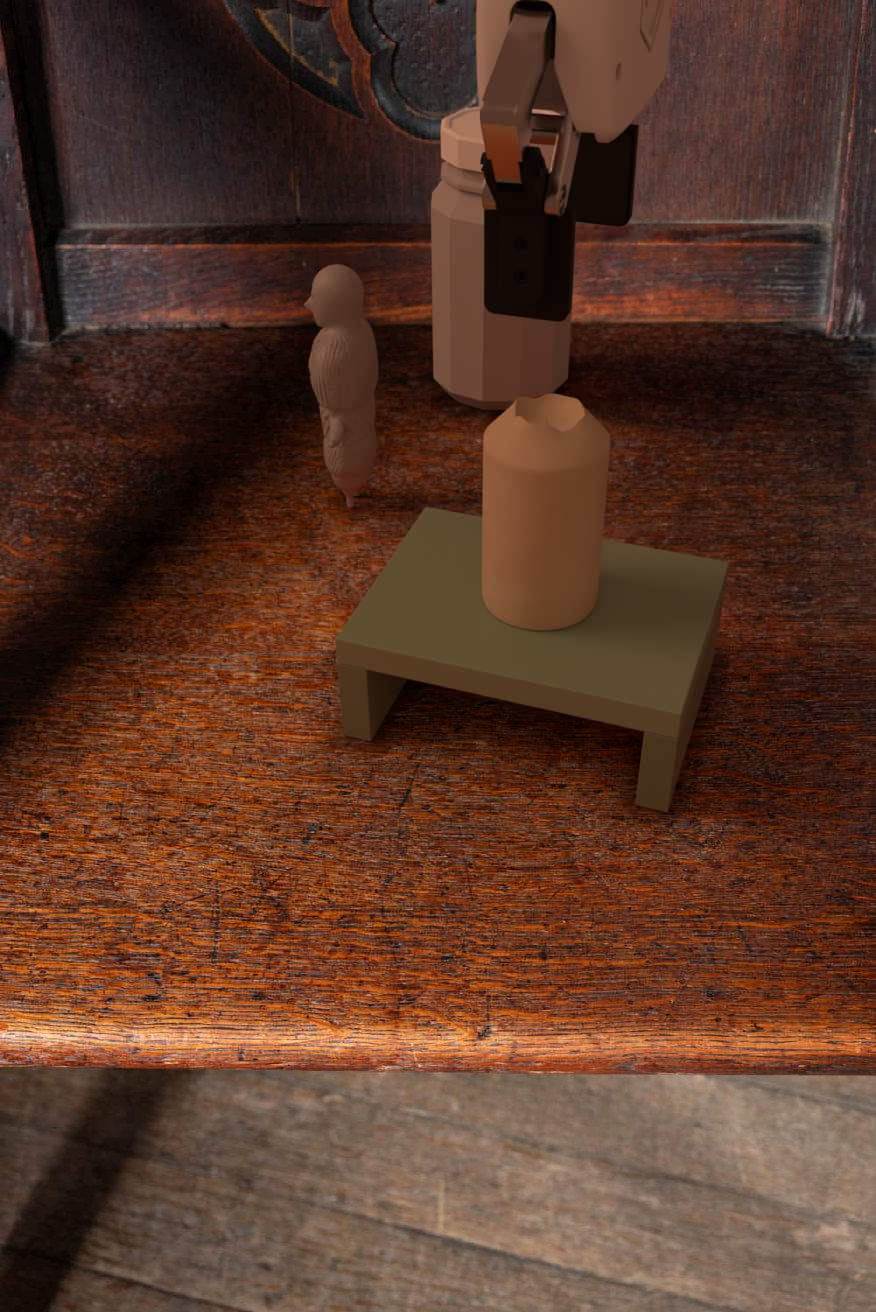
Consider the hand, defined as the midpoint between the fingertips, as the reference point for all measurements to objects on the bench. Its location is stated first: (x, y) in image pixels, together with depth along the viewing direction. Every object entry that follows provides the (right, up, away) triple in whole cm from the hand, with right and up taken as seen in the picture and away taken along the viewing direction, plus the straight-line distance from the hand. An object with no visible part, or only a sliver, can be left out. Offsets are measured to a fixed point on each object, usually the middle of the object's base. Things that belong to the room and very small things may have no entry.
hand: (562, 264), depth 50 cm
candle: (0, -13, +10) cm, 16 cm away
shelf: (0, -17, +14) cm, 22 cm away
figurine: (-10, -6, +28) cm, 31 cm away
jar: (-1, +4, +40) cm, 41 cm away
